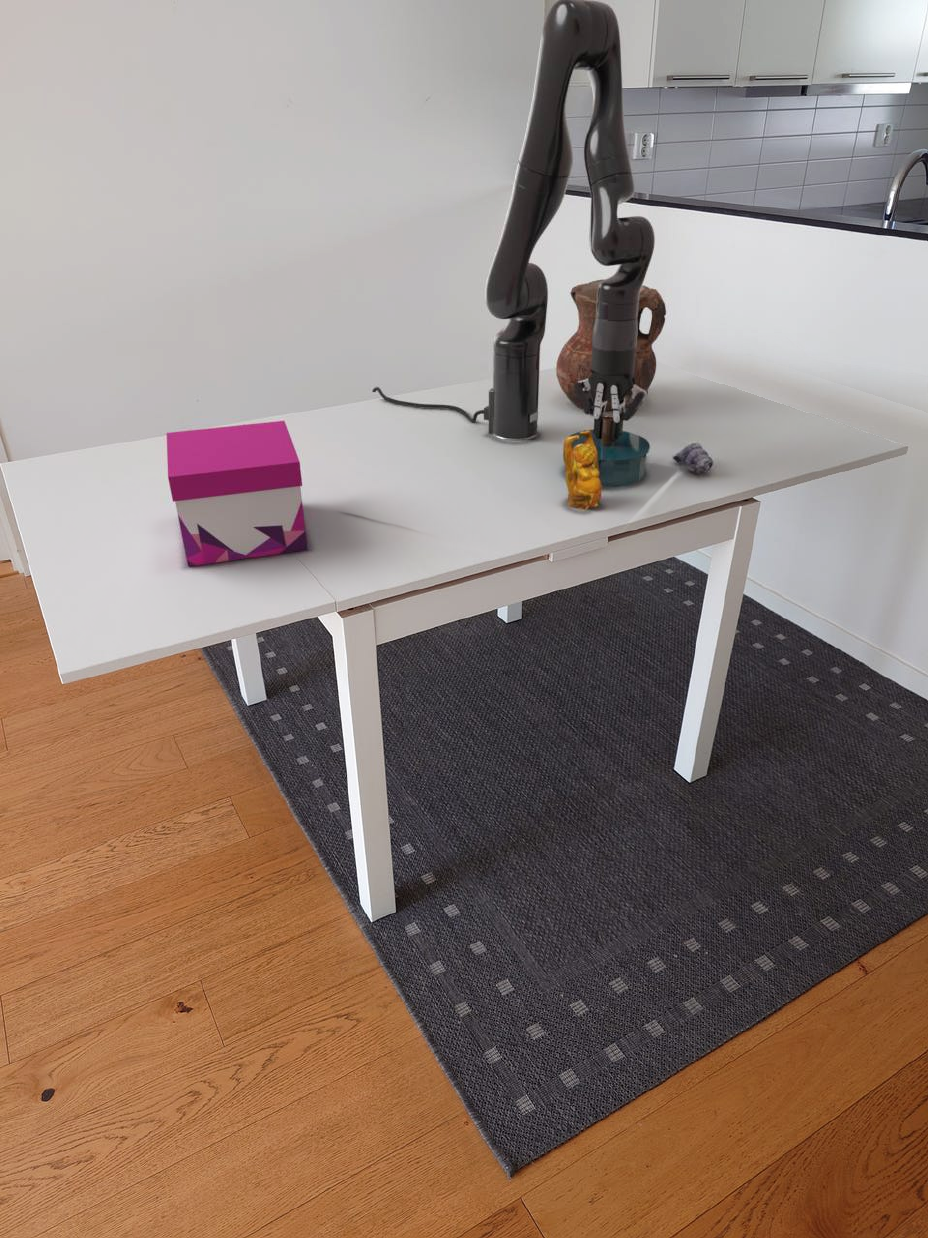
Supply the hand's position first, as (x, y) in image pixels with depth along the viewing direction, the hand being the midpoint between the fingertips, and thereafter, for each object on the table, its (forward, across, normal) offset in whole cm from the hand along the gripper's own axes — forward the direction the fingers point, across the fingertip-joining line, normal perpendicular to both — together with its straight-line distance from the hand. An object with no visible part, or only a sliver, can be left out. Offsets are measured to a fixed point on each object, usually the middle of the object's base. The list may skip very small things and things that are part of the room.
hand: (607, 438), depth 162 cm
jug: (+7, +16, -38) cm, 42 cm away
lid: (+1, 0, 0) cm, 1 cm away
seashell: (+7, -14, -10) cm, 19 cm away
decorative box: (+7, +42, +52) cm, 67 cm away
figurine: (+7, -2, +15) cm, 17 cm away
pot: (+7, 0, 0) cm, 7 cm away
